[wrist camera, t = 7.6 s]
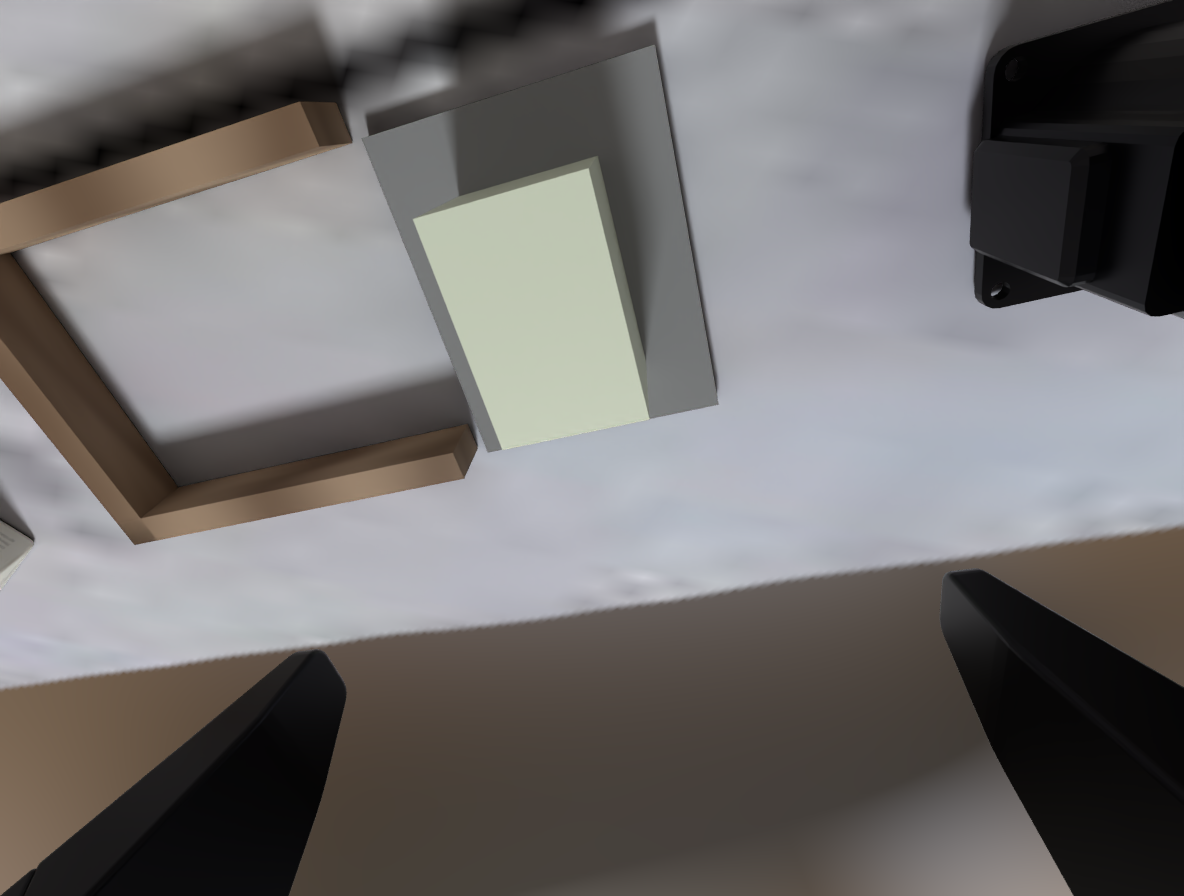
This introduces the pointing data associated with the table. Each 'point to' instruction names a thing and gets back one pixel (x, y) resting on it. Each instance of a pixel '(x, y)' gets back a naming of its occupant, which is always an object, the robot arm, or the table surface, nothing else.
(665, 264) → the mat
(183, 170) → the frame
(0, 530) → the ink box
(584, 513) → the table surface
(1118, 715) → the robot arm
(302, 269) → the table surface
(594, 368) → the sage block
